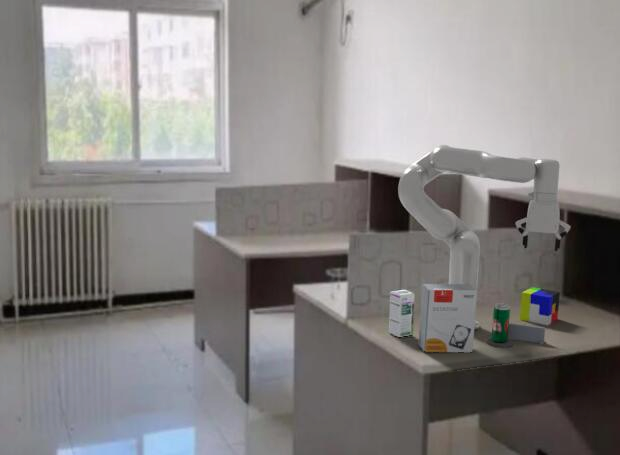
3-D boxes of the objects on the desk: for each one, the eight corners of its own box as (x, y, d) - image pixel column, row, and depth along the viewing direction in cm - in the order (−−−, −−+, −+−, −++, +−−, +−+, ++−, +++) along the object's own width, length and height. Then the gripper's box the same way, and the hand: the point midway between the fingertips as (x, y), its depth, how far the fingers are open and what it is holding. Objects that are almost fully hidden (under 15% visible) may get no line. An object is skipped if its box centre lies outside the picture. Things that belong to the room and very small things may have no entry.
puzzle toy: (547, 325, 262) (549, 297, 260) (519, 319, 268) (521, 292, 266) (557, 319, 270) (559, 292, 268) (530, 313, 276) (532, 287, 274)
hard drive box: (423, 353, 230) (427, 289, 227) (417, 345, 237) (421, 283, 234) (473, 353, 232) (477, 289, 228) (466, 344, 239) (470, 283, 236)
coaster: (485, 345, 239) (485, 343, 239) (488, 337, 246) (489, 336, 246) (511, 348, 236) (511, 346, 236) (514, 341, 243) (514, 339, 243)
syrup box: (399, 338, 243) (401, 294, 241) (388, 333, 248) (390, 290, 246) (413, 336, 246) (415, 292, 244) (401, 331, 251) (403, 288, 249)
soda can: (488, 339, 243) (490, 303, 240) (500, 337, 245) (503, 302, 242) (498, 344, 238) (500, 307, 236) (510, 342, 240) (513, 306, 238)
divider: (492, 337, 247) (493, 322, 246) (493, 334, 250) (494, 320, 249) (543, 344, 241) (544, 329, 240) (544, 341, 244) (545, 326, 243)
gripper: (516, 197, 246) (512, 248, 249) (572, 200, 240) (567, 253, 243) (518, 194, 253) (515, 244, 256) (573, 198, 247) (569, 249, 249)
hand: (540, 249), depth 249 cm, fingers open, 9 cm apart
